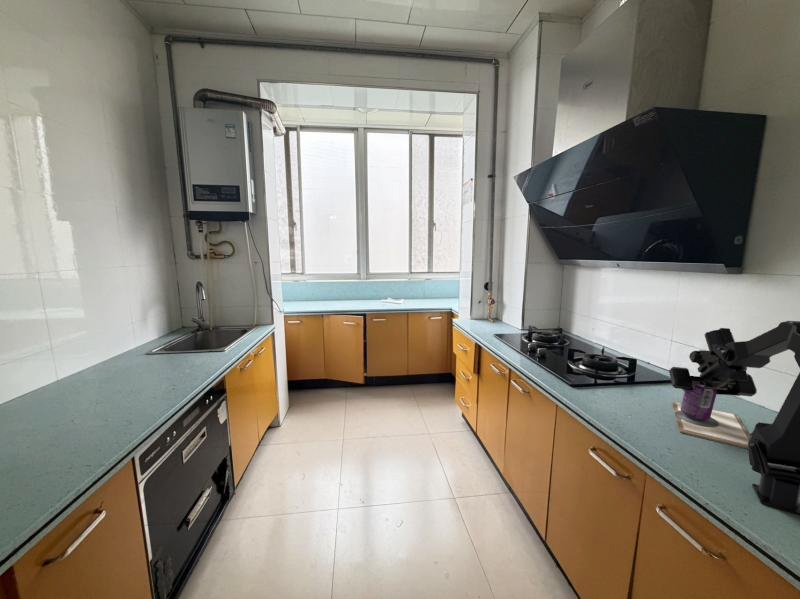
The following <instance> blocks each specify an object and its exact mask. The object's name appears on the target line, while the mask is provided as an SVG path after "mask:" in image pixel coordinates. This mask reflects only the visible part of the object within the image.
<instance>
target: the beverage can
mask: <svg viewBox="0 0 800 599" xmlns="http://www.w3.org/2000/svg"><path fill="white" fill-rule="evenodd" d="M692 387H693V391H683V397H682V400H681V403H682V404H681V411H682V412H683V413H684V414H686V415H688V416H689V417H691V418H694V419H699V420H708V419H710V417H711V413H712V410H714V406H715V402H716V398H717V395H716V394H717V389H713V388H705V386H704V385H693V386H692Z"/></svg>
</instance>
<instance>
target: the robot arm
mask: <svg viewBox="0 0 800 599" xmlns="http://www.w3.org/2000/svg"><path fill="white" fill-rule="evenodd" d="M704 338H705V340H706V344H707V348H708V350H704V349H702V350H693V351H691V352H690V354H689V360H690V361H691V363H696V364H697V365H698V367H697V371H698V373H700V374H699V376H698V375H697V376H696V375H691V374H690V370H689V369H688V368H687V367H681V366H678V367H677V366H672V367H671V368H669V369H668V373H669V377H670V382H671V386H672V387H673V388H674V389H681V390H682V392H684V391H693V387H692V386H693V385H704V386H705V388H713V389H717V394H716V396H717V395H719V396H722V395H723V396H739V397H740V396H742V397H753V396H755V395H756V394H757V392H758V390H757V386H756V384H755V381H754V379H753V377H752V375H751V374H749V373H747V371H748V370H747V369H748V368H752V369H753V368H754V369H761V368H763V367H765V366H766V365H768V364H769V363H770V362H771V358H772V357H774V356H776V355H778V354H780V353H784V352H786V351H788V350H790V351H792V353H793V354H794V355H793V358H794V360H795V362H796V364H797V366H798V367H799V369H800V321H799V320H786V321H782V322H779V324H778V326H776V327H774V328H772V329H770V330H768V331H766V332H764V333H761V334H760V335H757V336H755V337H754V338H751V339H750V340H745V341H744V340H743V341H735V338H734V335H733V333H732V332H731V329H730V328H725V327H720V328H719V329H715V330H710V331H708V332H705V333H704ZM749 435H750V437H751V439H750V440H749V442H748V449H747V450H748V461H749V465H750V466H751V470H752V471H753V472H756V473H758V474H760V477H759V483H758V484H755V483H752V484H751V488H752V490H753V491H754V493H755V495H756V498H757V499H758V501H759V503H761V504H763V505H767V506H770V507H773V508H776V509H779V510H783V511H786V512H789V513H793V514H795V515H799V516H800V372H799V373H798V374H797V376H796V378H795V380H794V382H793V384H792V386H791V388H790V390H789V392H788V394H787V396H786V397H785V399H784V401H783V403H782V405H781V407H780V409H779V411H778V413H777V415H776V416H775V418H774V420H773V422H772V423H768V422H767V423H766V422H757V423H756V424H755V425H754V428H753V431H752V432H751V433H750V434H749Z"/></svg>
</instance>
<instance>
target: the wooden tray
mask: <svg viewBox="0 0 800 599" xmlns="http://www.w3.org/2000/svg"><path fill="white" fill-rule="evenodd" d="M671 404H672V407H673V411H674V416H675V419H676V423H677V426H678V431H679V434H680V433H681V434H683V435H687V436H688V435H689V436H693V437H697V438H699V439H704V440H705V439H706V440H710V441H714V442H718V443H721V444H726V445H730V446H733V447H737V448H741V449H747V450H748V442H749V440H750V439H751V437H752V436H751V435H750V434H749V431H748V430H747V428H746V427H745V425H744V424H743V422H742V421H741V419H740V418H739V416H738V414H735V413H732V412H726V411H720V410H715V409H712V413H711V417H710V419H708V420H699V419H694V418H691V417H689V416H688V415H686V414H684V413H683V412H682V411H681V404H682V402H681V403H680V402H677V401H672V402H671Z"/></svg>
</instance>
